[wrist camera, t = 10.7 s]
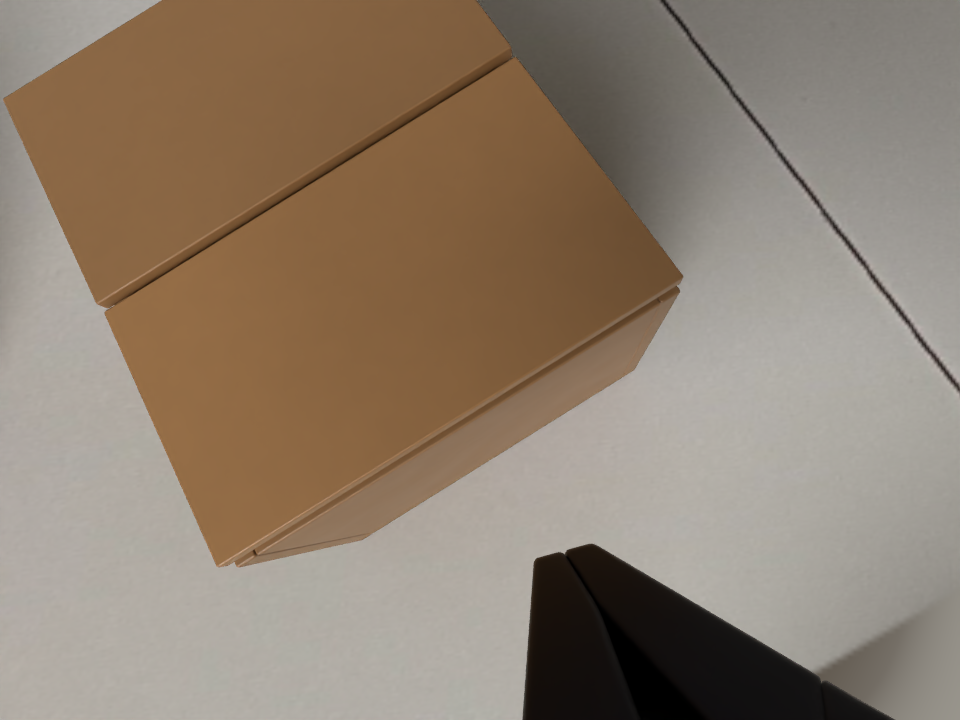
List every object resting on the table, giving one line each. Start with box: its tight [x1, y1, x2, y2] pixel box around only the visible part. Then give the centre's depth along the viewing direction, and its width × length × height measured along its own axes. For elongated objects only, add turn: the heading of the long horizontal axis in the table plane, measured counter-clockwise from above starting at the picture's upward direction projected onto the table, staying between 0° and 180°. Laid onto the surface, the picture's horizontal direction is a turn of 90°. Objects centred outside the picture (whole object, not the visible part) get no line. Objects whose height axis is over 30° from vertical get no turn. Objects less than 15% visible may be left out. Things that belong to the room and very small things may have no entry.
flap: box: [105, 57, 683, 567], centre depth 13 cm, size 6×11×1 cm, turn 121°
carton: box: [3, 0, 680, 567], centre depth 19 cm, size 13×11×9 cm
